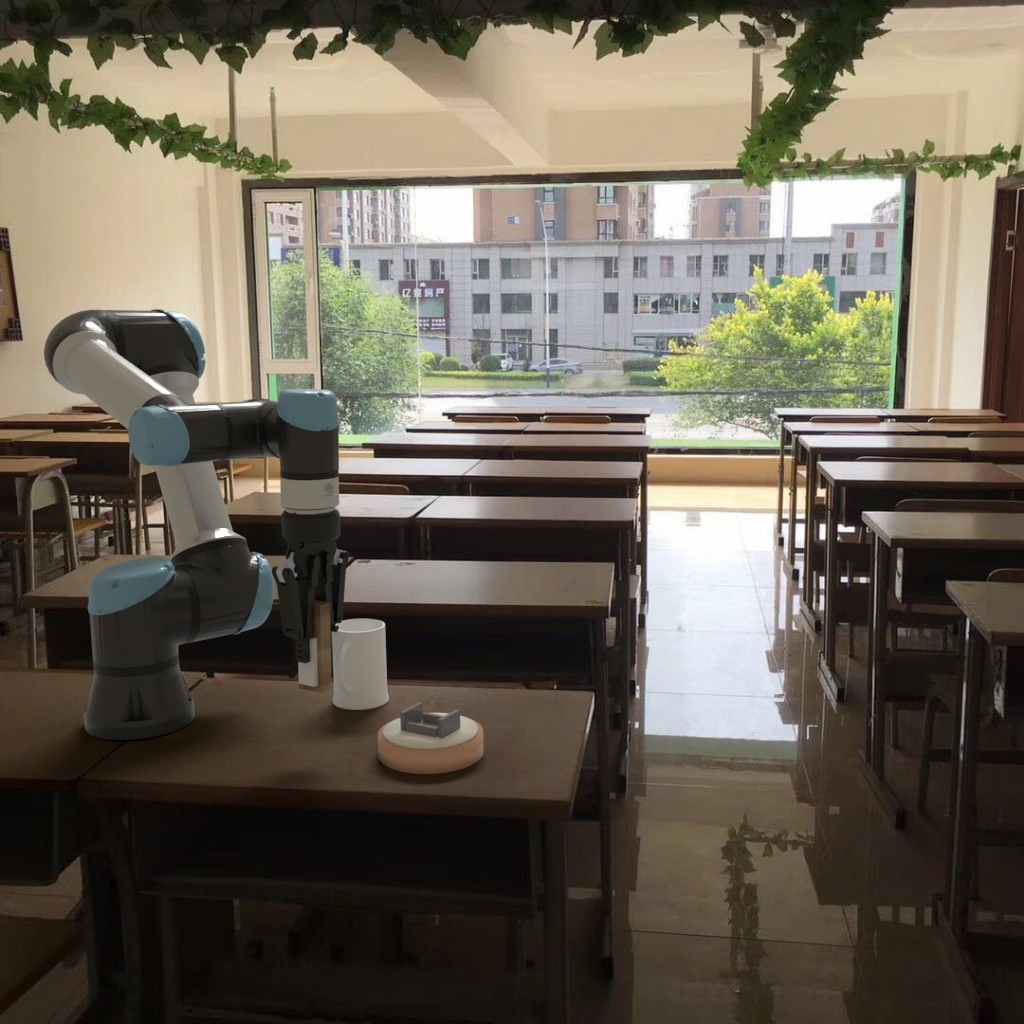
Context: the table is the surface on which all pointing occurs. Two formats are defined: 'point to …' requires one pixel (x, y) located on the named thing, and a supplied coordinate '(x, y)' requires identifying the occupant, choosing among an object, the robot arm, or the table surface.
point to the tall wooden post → (322, 647)
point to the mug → (359, 664)
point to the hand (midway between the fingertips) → (314, 681)
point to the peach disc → (430, 742)
